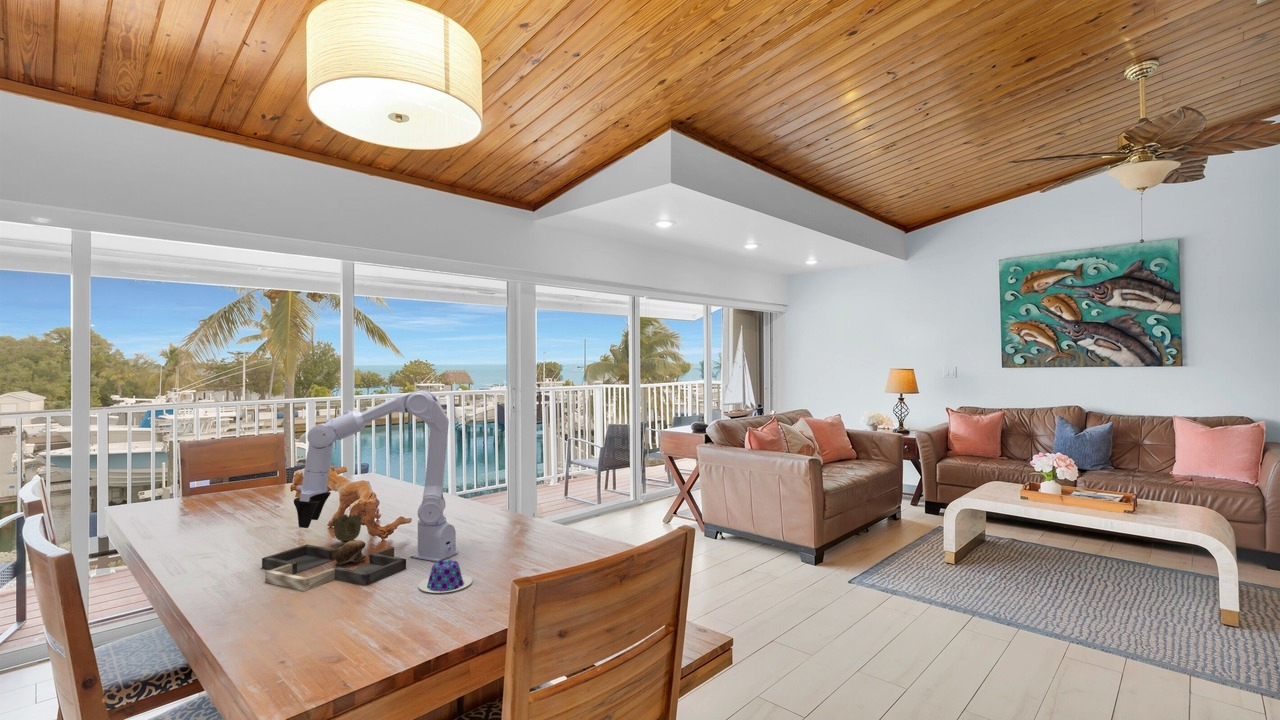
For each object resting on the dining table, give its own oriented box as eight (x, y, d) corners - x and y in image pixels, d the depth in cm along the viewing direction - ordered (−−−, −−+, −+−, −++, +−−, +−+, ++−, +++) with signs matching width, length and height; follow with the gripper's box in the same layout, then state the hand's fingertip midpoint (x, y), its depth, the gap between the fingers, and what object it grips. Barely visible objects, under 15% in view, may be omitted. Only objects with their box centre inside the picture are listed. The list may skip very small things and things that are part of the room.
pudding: (417, 580, 145) (417, 558, 145) (469, 574, 150) (469, 552, 150) (419, 599, 134) (419, 575, 134) (475, 591, 139) (475, 568, 139)
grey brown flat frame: (423, 561, 158) (423, 552, 158) (335, 598, 134) (335, 586, 134) (332, 545, 171) (332, 536, 171) (237, 576, 147) (237, 565, 147)
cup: (350, 550, 167) (350, 521, 167) (326, 548, 169) (326, 519, 169) (367, 542, 175) (367, 514, 174) (344, 540, 176) (344, 512, 176)
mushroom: (379, 547, 159) (363, 529, 158) (357, 568, 152) (341, 549, 151) (362, 557, 163) (347, 539, 162) (340, 578, 156) (324, 559, 155)
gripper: (309, 464, 163) (301, 514, 162) (290, 474, 148) (281, 529, 148) (337, 466, 164) (329, 517, 164) (321, 477, 150) (312, 532, 149)
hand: (308, 523), depth 156 cm, fingers open, 7 cm apart
